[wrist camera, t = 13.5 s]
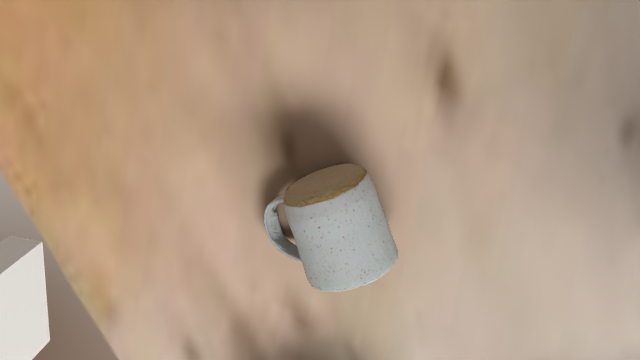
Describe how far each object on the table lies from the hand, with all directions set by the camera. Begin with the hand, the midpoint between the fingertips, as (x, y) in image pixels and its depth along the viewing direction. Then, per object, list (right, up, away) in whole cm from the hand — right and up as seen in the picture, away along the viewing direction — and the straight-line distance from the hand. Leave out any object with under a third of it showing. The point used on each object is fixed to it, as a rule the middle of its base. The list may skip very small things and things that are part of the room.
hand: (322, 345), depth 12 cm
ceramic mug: (+1, +1, +35) cm, 35 cm away
